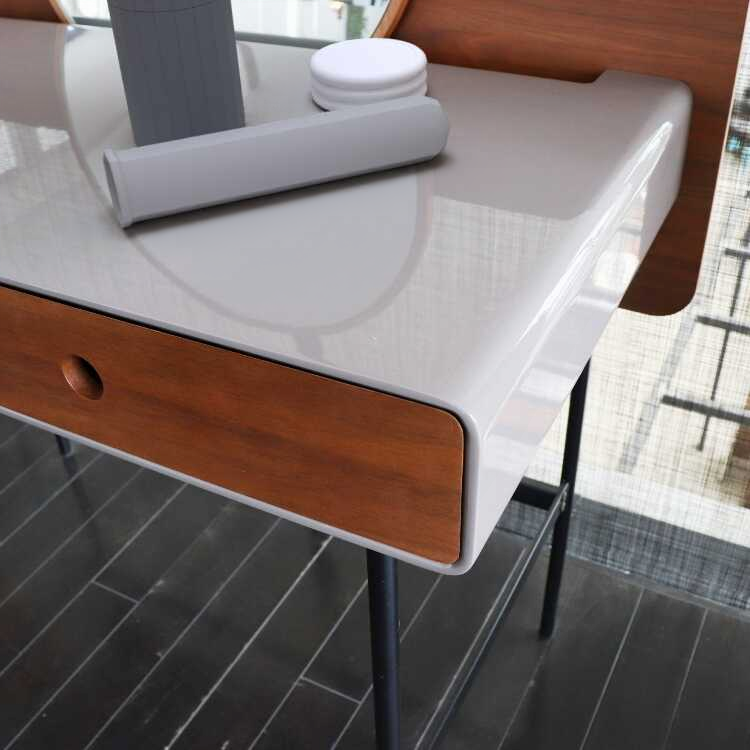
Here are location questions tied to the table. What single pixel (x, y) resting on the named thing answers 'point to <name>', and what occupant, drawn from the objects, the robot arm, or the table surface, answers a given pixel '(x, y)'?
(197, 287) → the table surface
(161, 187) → the tube
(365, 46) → the white thick disc
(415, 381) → the table surface
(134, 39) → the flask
